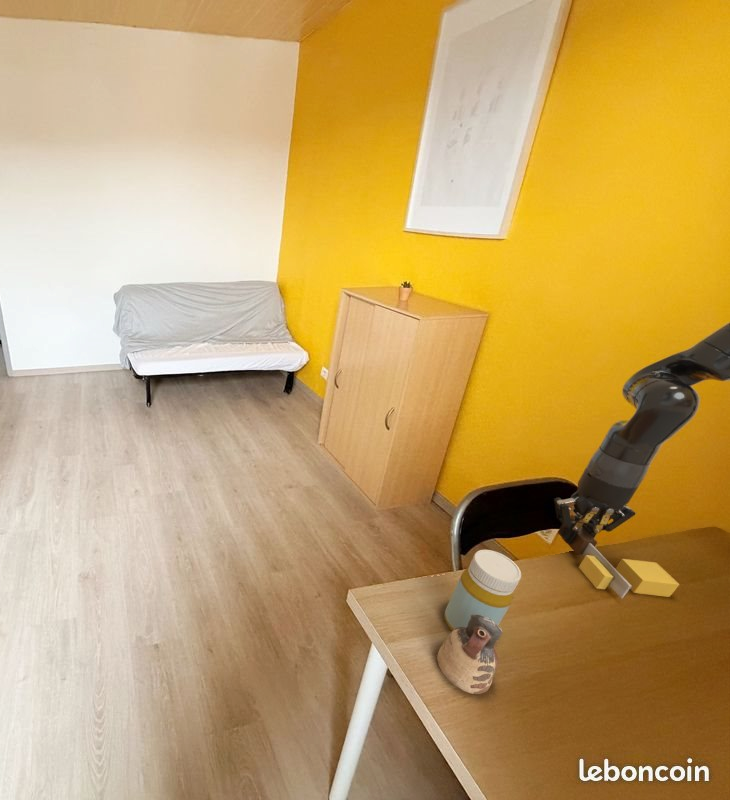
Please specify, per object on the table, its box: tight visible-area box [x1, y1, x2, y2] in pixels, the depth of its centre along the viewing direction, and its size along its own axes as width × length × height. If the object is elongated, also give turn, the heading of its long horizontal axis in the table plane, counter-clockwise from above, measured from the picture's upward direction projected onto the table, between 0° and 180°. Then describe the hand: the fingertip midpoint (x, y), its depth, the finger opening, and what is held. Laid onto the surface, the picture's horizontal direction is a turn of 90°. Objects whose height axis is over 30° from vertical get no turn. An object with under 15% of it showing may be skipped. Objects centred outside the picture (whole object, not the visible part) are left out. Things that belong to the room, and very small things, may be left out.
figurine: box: [436, 614, 504, 695], centre depth 61 cm, size 7×7×12 cm
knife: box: [557, 520, 631, 599], centre depth 80 cm, size 16×2×4 cm, turn 173°
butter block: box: [614, 558, 680, 598], centre depth 78 cm, size 6×5×4 cm
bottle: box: [443, 549, 522, 632], centre depth 67 cm, size 7×7×15 cm
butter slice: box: [578, 555, 613, 590], centre depth 79 cm, size 2×5×4 cm, turn 173°
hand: (573, 541), depth 85 cm, fingers closed on knife, 2 cm apart
